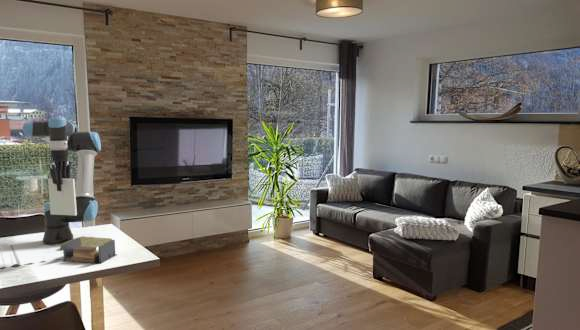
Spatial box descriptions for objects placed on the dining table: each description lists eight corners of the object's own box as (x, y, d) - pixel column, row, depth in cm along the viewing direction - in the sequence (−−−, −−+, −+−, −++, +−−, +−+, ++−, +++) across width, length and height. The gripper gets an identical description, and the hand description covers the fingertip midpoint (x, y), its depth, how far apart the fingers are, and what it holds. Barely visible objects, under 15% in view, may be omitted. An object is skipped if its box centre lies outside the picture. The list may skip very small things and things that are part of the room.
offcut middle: (80, 253, 206) (80, 249, 206) (100, 255, 204) (100, 251, 203) (73, 256, 201) (73, 252, 201) (94, 258, 199) (93, 254, 199)
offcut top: (79, 249, 205) (79, 245, 205) (96, 250, 204) (96, 246, 203) (73, 252, 201) (73, 248, 201) (90, 253, 199) (90, 249, 199)
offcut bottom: (79, 257, 206) (78, 253, 206) (101, 258, 204) (100, 254, 204) (71, 261, 201) (71, 256, 201) (94, 262, 199) (93, 258, 199)
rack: (82, 255, 215) (81, 236, 214) (118, 257, 211) (117, 238, 210) (62, 264, 201) (61, 244, 200) (100, 267, 197) (98, 247, 196)
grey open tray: (81, 241, 240) (80, 235, 240) (112, 243, 236) (112, 237, 236) (56, 251, 222) (56, 245, 222) (90, 253, 218) (90, 247, 218)
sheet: (52, 213, 212) (49, 178, 210) (77, 215, 209) (74, 178, 207) (50, 214, 211) (47, 178, 208) (75, 215, 208) (72, 179, 206)
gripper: (55, 150, 198) (58, 200, 201) (76, 148, 212) (79, 194, 215) (41, 150, 200) (44, 199, 202) (63, 148, 214) (66, 194, 216)
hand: (62, 197), depth 209 cm, fingers closed on sheet
